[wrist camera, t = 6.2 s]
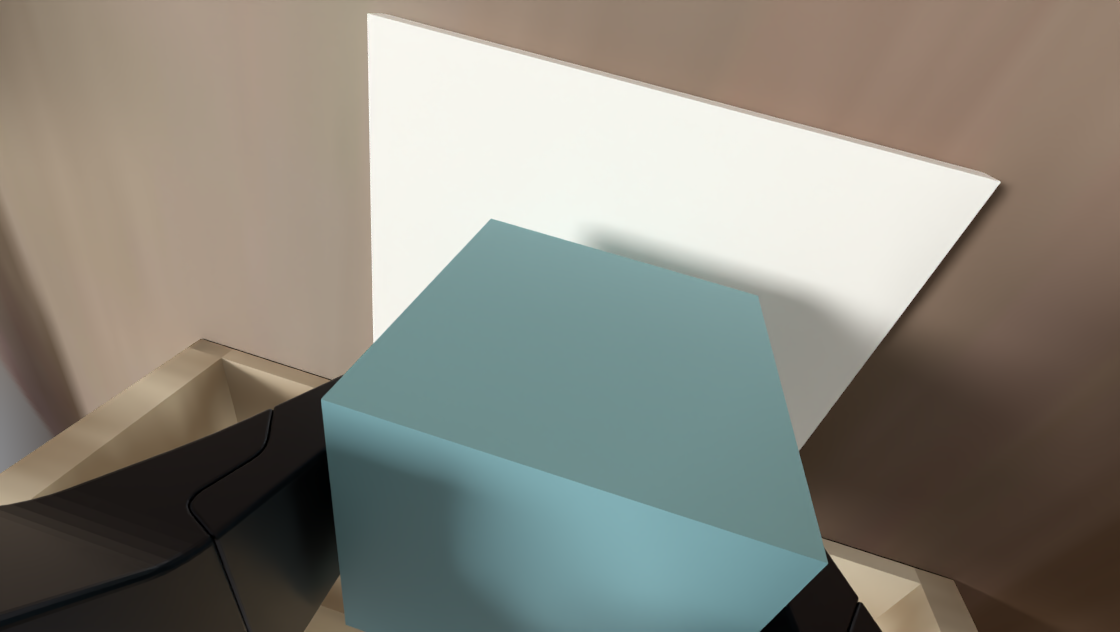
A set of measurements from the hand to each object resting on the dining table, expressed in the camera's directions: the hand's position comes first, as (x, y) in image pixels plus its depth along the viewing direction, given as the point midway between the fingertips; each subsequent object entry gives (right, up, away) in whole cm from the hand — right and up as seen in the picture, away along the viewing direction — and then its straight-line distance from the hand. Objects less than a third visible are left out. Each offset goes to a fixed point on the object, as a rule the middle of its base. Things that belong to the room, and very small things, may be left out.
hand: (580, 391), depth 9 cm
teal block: (0, +1, +1) cm, 1 cm away
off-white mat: (+1, +2, +3) cm, 4 cm away
